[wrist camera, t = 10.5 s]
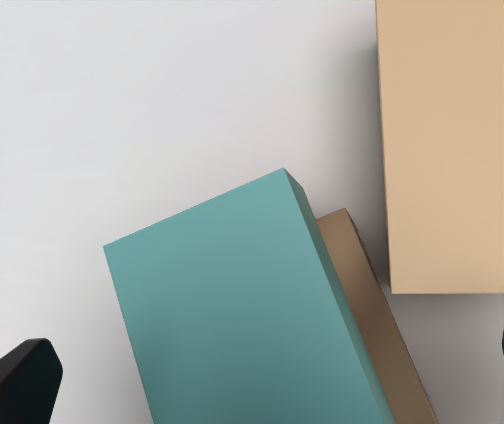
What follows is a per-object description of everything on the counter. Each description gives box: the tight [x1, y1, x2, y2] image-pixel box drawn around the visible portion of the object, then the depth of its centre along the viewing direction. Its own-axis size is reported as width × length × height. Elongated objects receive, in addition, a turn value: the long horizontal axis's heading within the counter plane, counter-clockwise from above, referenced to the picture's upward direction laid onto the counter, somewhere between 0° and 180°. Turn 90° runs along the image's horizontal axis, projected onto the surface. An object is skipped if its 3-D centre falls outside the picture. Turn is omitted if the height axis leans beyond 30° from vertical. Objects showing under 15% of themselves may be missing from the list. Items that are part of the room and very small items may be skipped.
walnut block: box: [316, 208, 439, 424], centre depth 19 cm, size 10×9×4 cm
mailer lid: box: [103, 168, 397, 424], centre depth 16 cm, size 13×7×4 cm, turn 21°
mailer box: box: [375, 0, 504, 294], centre depth 17 cm, size 11×5×9 cm, turn 1°
